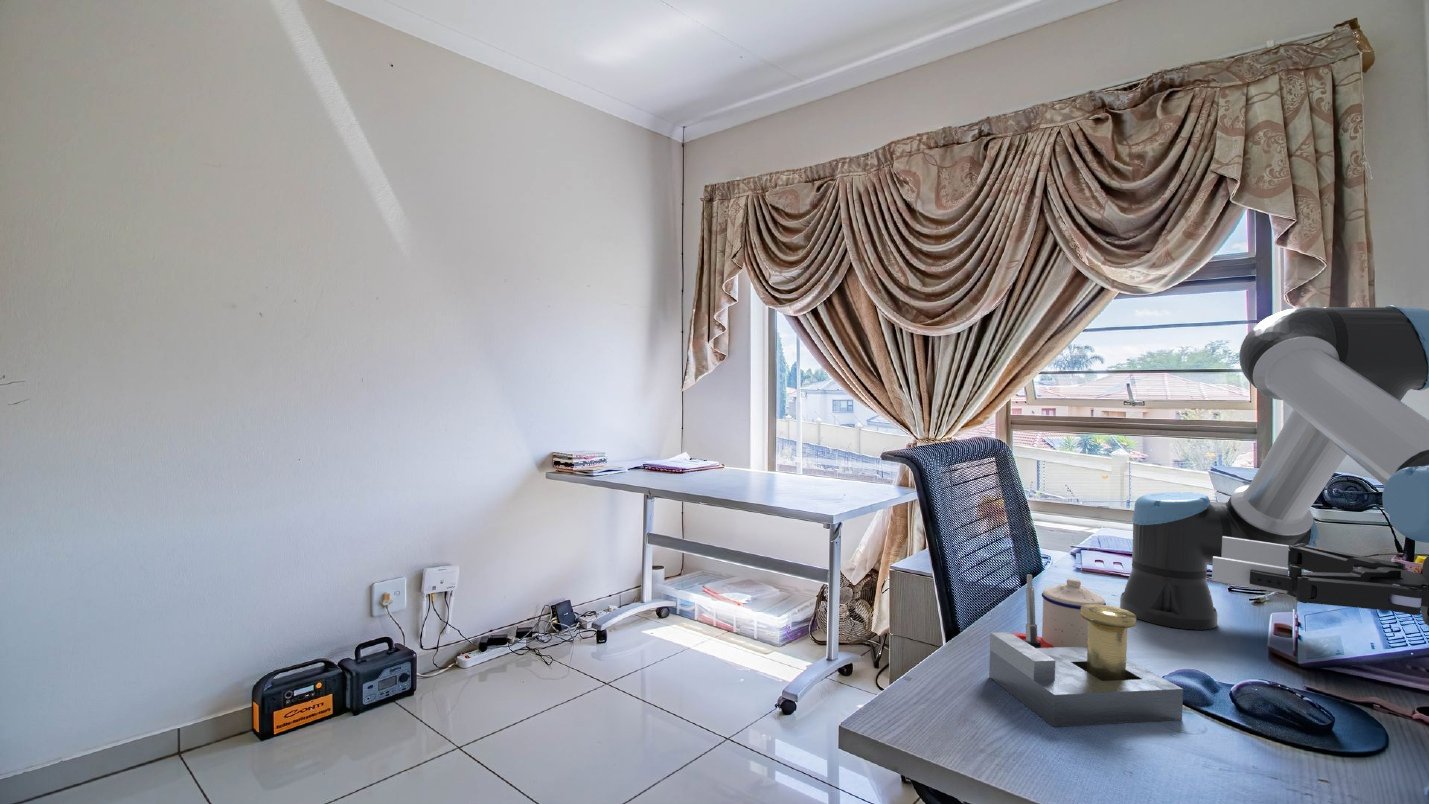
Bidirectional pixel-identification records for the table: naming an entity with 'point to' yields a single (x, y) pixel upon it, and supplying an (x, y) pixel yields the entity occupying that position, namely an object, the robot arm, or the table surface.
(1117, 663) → the brass flanged peg
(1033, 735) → the table surface
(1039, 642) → the tow hook
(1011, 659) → the jig
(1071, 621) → the teacup with lid
